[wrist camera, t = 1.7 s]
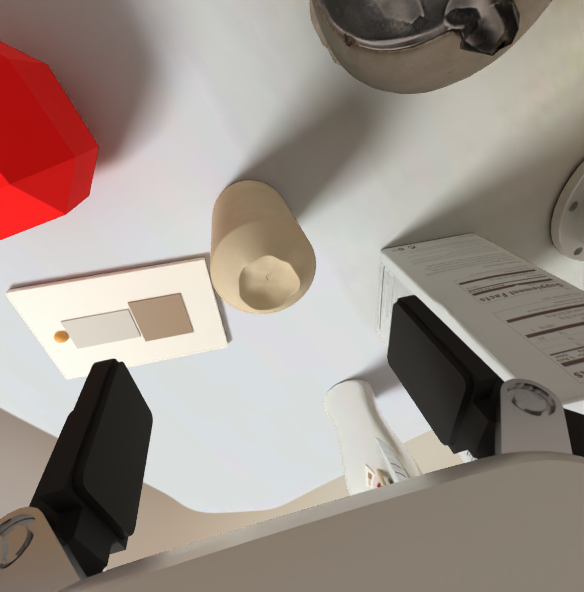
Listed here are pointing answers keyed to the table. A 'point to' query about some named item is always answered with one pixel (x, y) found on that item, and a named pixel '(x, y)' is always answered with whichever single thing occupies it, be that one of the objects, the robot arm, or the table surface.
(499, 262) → the supplement box
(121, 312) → the card
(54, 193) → the ball
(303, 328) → the table surface
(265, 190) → the candle
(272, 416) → the table surface
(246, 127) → the table surface
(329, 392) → the beer glass
